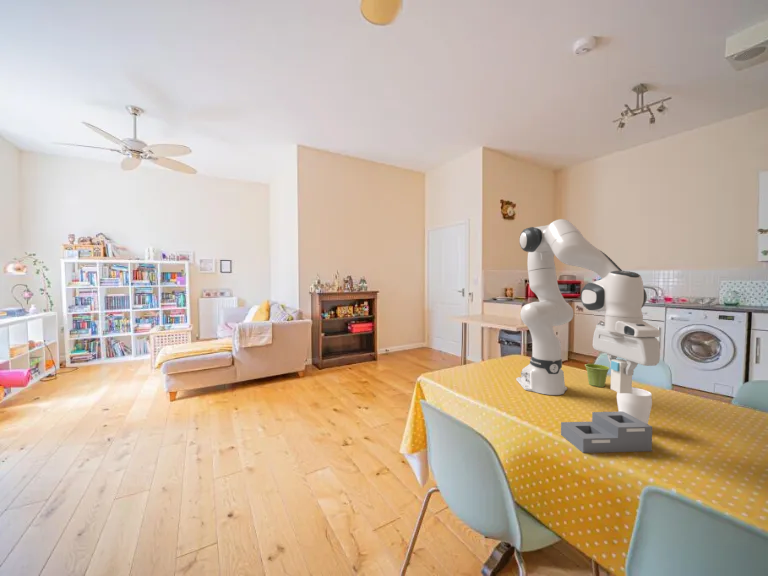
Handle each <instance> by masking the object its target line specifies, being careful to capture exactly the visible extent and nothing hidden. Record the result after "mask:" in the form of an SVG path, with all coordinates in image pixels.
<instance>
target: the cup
mask: <svg viewBox="0 0 768 576" xmlns="http://www.w3.org/2000/svg"><path fill="white" fill-rule="evenodd" d="M652 399H653V397H652V392H650V391H648V390H646V389H642V388H639V387H634V386H632V393H618V392H616V403H617V409H618V412H625V413H627V414H629V415H631V416H633V417H635V418H637V419H639V420H640V421H642V422H644V423H646V424H648V425H649V420H650V415H651V412H652V411H651V410H652V406H653V400H652Z"/></svg>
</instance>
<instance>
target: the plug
mask: <svg viewBox="0 0 768 576" xmlns="http://www.w3.org/2000/svg"><path fill="white" fill-rule="evenodd" d="M627 366H628V364H627V360H626V359H623V358H619V359H618V358H616V359H611V368H610V390H612V391H614V392H616V393H617V392H618V393H632V387H633V384H632V383H633V375H632V376H628V375H626V374H624V373H623V372H624V368H626V367H627Z"/></svg>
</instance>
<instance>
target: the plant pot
mask: <svg viewBox="0 0 768 576" xmlns="http://www.w3.org/2000/svg"><path fill="white" fill-rule="evenodd" d="M584 367H585V370H586V373H587V380H588V381H587V382H588V385H590V386H593V387H597V388H603V387H605V386H606V380H607V375H608V372H609V370H611V368H610V367H609V366H607V365H604V364H603V365H602V364H599V363H598V364H597V363H586V364H584Z"/></svg>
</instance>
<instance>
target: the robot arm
mask: <svg viewBox="0 0 768 576" xmlns="http://www.w3.org/2000/svg"><path fill="white" fill-rule="evenodd" d="M518 240H519V246H520V249H522V251H524V252H527V260H526V261H527V275H528V285H529V289H530V291H532V292H533V293H534V294H535V296H536V297H537V298H538V301H533V302H530V303H529V302H528V303H526V304H524V305H523V306H522V307H521V308H520V312H519V313H520V314H519V316H520V319H521V322H522V323H523V324H524V325H525V326H526V327H527V329H528V330H529V333H530V337H531V343H532V344H531V345H532V346H531V348H532V352H531V353H532V354H531V355H530V356H529V359H530V361H529V364H528V365H526V366H525V367H523V368H522V370H521V372H520V376H518V377H516V378H515V379H516V382H518V383H519V385H520V386H521V387H522V388H523V389H524V391H525V390H526V391H528V392H533V393H537V394H543V395H548V396H549V395H550V396H560V395H564V394H565V392H566V391H568V387H567V386H566V384H565V382H566V381H565V374H564V372H565V371H564V370H563V369H562V367H563V362H562V361H563V360H562V357H561V356H562V355H561V353H562V351H561V350H562V342H561V340H560V339H559V337H558V336H556V334H555V330H554V327H556V326H557V327H558V326H563V325H565V324H567V323H569V322H571V321H572V320H573V319H574V309H573V307H572V306H571V305H570V304H569V303H568V302H567V301H566V300H565V298H564V295H562V293H561V290H560V288H559V283H558V276H557V271H556V269H557V268H556V265H555V264H556V263H555V259H554V258H555V257H556V258H557V259H558V260H559V262H561V263H562V264H565V265H568V266H572V267H576V268H577V267H578V268H583V269H586V270H589V271H591V272H594V273H596V274H597V275H598V276H599V277H600V278H601V279H598V280H595V281H592V282H588V283H587V284H585V285H584V286H583V287H582V289H581V292H580V301H581V304H582V306H583V307H584V308H586V309H587V310H588V311H592V312H605V314H604V321H599V323H597V324H596V325H595V329H594V332H593V337H592V347H593V349H594V350H596V351H599V352H602V353H605V354H607V360H608V361H609V366H610V367H609V368H610V369H611V359H618V358H619V359H623V360H626V361H627V364H628V366H627V367H626V368H624V372H623V373H624V374H626V375H628V376H632V377H633V376H634V372H635V371H634V370H635V369H636V368H637V367H638V364H639V365H641V366H646V367H656V366H657V365H658V364H659V363H660V358H661V357H660V356H661V349H660V348H661V345H660V341H659V339H658V338H659V337H660V335H661V332H660V330H659V329H658V328H656V327H654V326H652V325H651V324H649V323H648V322H646V321H644V317H643V315H644V314H643V312H642V308H643V307H644V306H645V304H646V303H647V299H648V295H647V291H646V290H645V288H644V282H643V278H642V275H640V274H639V273H638V272H633V271H628V270H626V271H625V270H622V268H620V266H618V264H617V263H615V261H613V259H612V258H610V256H608V255H607V254H606V253H605V252H603V251H602V250H600V249H598V248H597V247H596V246H595V245H593V244H592V243H591V242H590V241H588V240H587V239H586V237H584V235H583V234H582V233H581V231H580V230H579V229H578V228H577V227H576V226H575V225H574V224H573V223H572V222H571V221H569V220H567V219H565V218H559V219H555V220H554V221H552V222H550V223H549V224H547V225H540V226H530V227H527V228H524V229H523V230H522V231H521V233H520V236H519V239H518Z"/></svg>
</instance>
